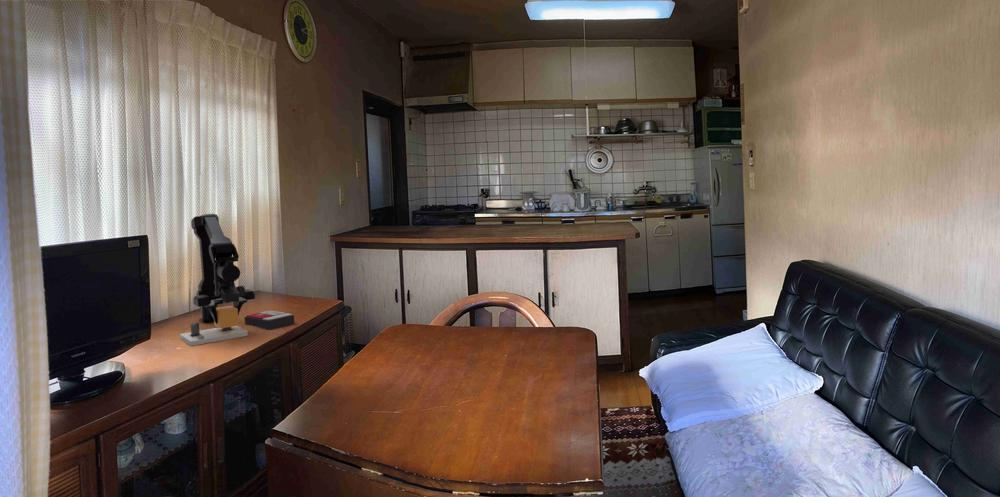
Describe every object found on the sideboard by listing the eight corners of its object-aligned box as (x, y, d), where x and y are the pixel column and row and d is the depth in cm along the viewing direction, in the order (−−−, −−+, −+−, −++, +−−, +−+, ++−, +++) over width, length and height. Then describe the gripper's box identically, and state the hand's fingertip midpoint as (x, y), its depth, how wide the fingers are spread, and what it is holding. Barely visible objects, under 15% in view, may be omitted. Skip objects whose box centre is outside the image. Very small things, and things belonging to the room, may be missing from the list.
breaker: (190, 335, 193) (189, 323, 193) (198, 333, 195) (197, 322, 195) (192, 336, 192) (191, 324, 191) (200, 335, 193) (200, 323, 193)
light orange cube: (214, 325, 200) (213, 308, 199) (232, 322, 204) (231, 305, 203) (220, 328, 196) (219, 311, 195) (238, 325, 200) (237, 308, 199)
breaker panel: (180, 338, 195) (179, 332, 194) (235, 328, 207) (234, 323, 207) (190, 346, 186) (190, 339, 186) (247, 335, 198) (247, 329, 198)
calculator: (270, 309, 223) (294, 312, 214) (270, 320, 223) (295, 324, 215) (243, 315, 214) (268, 318, 205) (244, 326, 214) (268, 330, 206)
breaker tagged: (221, 333, 200) (221, 322, 200) (229, 332, 202) (228, 321, 202) (224, 335, 199) (223, 323, 198) (232, 333, 200) (231, 322, 200)
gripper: (201, 284, 186) (204, 331, 188) (260, 277, 199) (262, 321, 201) (191, 279, 194) (194, 324, 196) (248, 273, 207) (250, 315, 209)
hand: (226, 321), depth 200 cm, fingers closed on light orange cube, 6 cm apart
